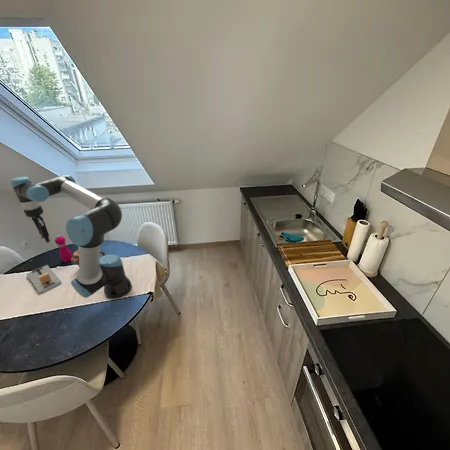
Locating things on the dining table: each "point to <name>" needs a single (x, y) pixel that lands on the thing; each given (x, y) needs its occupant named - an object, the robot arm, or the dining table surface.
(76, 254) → the brown mug
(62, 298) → the dining table surface
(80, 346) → the dining table surface
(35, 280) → the grey slotted slider plate
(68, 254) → the pepper mill
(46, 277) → the fader cap
